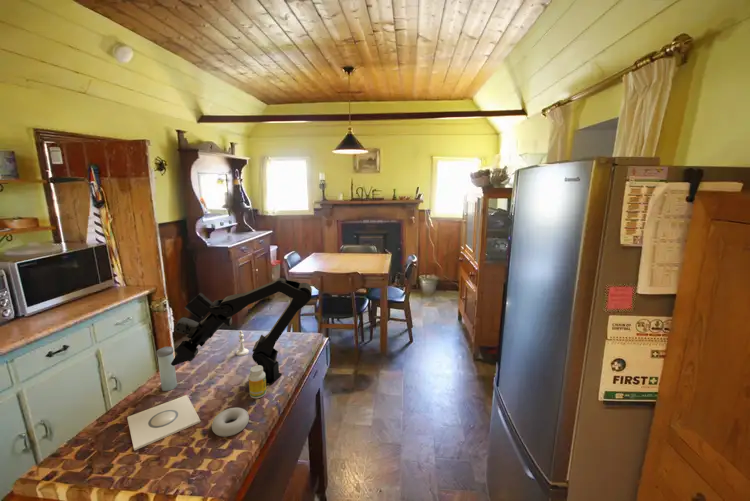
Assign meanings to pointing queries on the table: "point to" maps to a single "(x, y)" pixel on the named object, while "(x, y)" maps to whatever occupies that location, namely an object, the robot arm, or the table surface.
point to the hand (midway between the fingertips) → (177, 357)
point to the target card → (161, 421)
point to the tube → (166, 368)
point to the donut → (234, 427)
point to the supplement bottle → (257, 382)
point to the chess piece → (241, 346)
